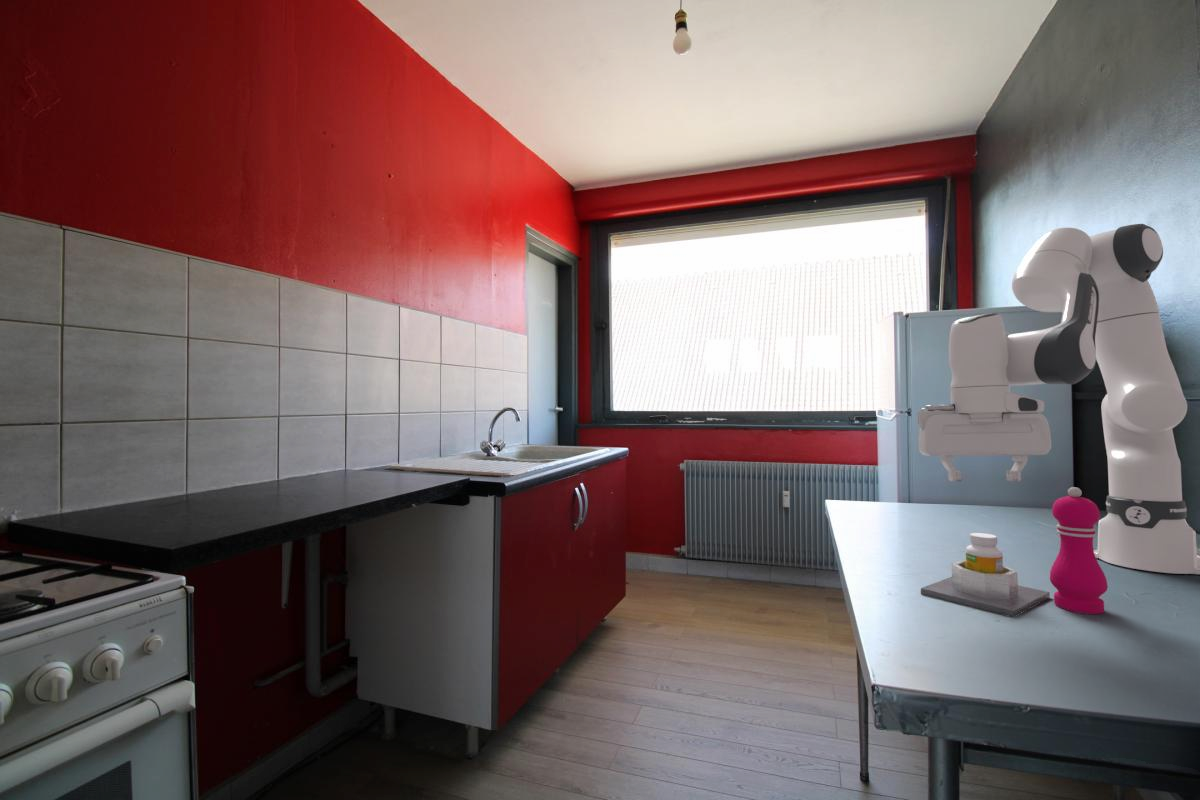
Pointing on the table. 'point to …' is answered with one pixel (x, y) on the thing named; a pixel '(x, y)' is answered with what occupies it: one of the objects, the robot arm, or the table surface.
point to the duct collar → (986, 590)
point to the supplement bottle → (984, 554)
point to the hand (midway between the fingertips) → (984, 481)
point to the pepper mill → (1077, 556)
